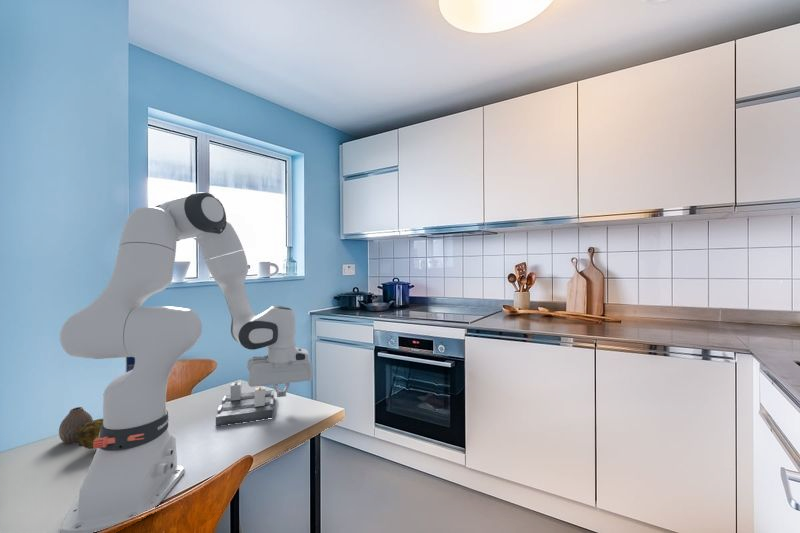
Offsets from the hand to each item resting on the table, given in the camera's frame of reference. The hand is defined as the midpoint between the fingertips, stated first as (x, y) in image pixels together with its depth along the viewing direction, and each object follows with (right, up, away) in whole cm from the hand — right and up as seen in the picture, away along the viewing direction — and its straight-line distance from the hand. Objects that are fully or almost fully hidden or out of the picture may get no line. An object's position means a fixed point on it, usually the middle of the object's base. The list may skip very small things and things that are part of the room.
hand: (281, 396), depth 112 cm
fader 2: (-6, -2, -2) cm, 7 cm away
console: (-11, -5, 0) cm, 12 cm away
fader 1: (-17, -2, +3) cm, 17 cm away
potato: (-39, -5, -22) cm, 45 cm away
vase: (-50, -5, -18) cm, 54 cm away
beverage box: (-44, -5, -4) cm, 44 cm away
